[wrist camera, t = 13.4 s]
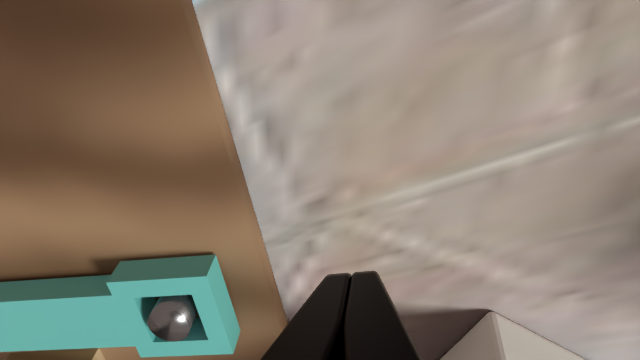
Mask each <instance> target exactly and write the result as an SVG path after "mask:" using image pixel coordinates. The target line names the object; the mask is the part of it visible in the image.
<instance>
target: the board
mask: <svg viewBox="0 0 640 360" xmlns="http://www.w3.org/2000/svg"><path fill="white" fill-rule="evenodd" d="M202 255H216V256H217V260H218V263H219V266H220V269H221V272H222V275H223V278H224V281H225V284H226V287H227V290H228V293H229V296H230V299H231V302H232V306H233V309H234V312H235V315H236V318H237V321H238V324H239V327H240V330H241V331H240V334H239V337H238V340H237V344H236V347H235V350H234V353H233V354H219V355H192V356H166V357H140V355H139V353H138V351H137V349H136V346H133V347H109V348H84V349H60V350H36V351H12V352H0V360H260V359H261V357H262V356H263V355H264V354H265V352H266V351H267V350H268V349H269V347H270V346H271V345H272V344H273V342H274V341H275V340H276V338H277V337H278V336H279V335H280V333H281V332H282V331H283V330H284V328H285V327H286V326H287V325H288V322H287V319H286V315H285V312H284V309H283V305H282V302H281V299H280V295H279V292H278V289H277V285H276V282H275V278H274V275H273V272H272V268H271V265H270V262H269V258H268V255H267V252H266V248H265V245H264V242H263V238H262V235H261V232H260V228H259V225H258V222H257V218H256V215H255V211H254V208H253V205H252V201H251V198H250V195H249V191H248V188H247V185H246V181H245V178H244V175H243V171H242V168H241V165H240V161H239V158H238V155H237V151H236V148H235V144H234V141H233V138H232V134H231V131H230V128H229V124H228V121H227V118H226V114H225V111H224V108H223V104H222V101H221V98H220V94H219V91H218V87H217V84H216V81H215V77H214V74H213V71H212V67H211V64H210V61H209V57H208V54H207V51H206V47H205V44H204V41H203V37H202V34H201V31H200V27H199V24H198V20H197V17H196V14H195V10H194V7H193V4H192V0H0V282H10V281H25V280H40V279H55V278H70V277H85V276H100V275H112V273H113V271H114V270H115V268H116V267H117V265H118V264H119V262H120V261H132V260H146V259H160V258H174V257H188V256H202ZM158 298H159V296H158V297H155V299H156V302H157V300H158ZM195 318H200V316H199V313H198V312H197V315H196V317H195Z"/></svg>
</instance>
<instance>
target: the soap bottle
mask: <svg viewBox="0 0 640 360" xmlns="http://www.w3.org/2000/svg"><path fill="white" fill-rule="evenodd" d="M440 360H586V359H584V358H582V357H580V356H578V355H576V354H574V353H572V352H570V351H569V350H567V349H565V348H563V347H561V346H559V345H557V344H555V343H553V342H551V341H549V340H547V339H545V338H543V337H541V336H540V335H538V334H536V333H534V332H532V331H530V330H528V329H526V328H524V327H522V326H520V325H518V324H516V323H514V322H513V321H511V320H509V319H507V318H505V317H503V316H501V315H499V314H497V313H495V312H489V313H487V314H486V315H485V316H484V317H483V318H482V319H481V320H480V321H479V322H478V323H477V324H476V325H475V326H474V327H473V328H472V329H471V330H470V331H469V332H468V333H467V334H466V335H465V336H464V337H463V338H462V339H461V340H460V341H459V342H458V343H456V344H455V345H454V346H453V347H452V348H451V349H450V350H449V351H448V352H447V353H446V354H445V355H444V356H443V357H442V358H441V359H440Z"/></svg>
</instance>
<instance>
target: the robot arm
mask: <svg viewBox="0 0 640 360" xmlns="http://www.w3.org/2000/svg"><path fill="white" fill-rule="evenodd" d="M260 360H422V359H421V357H420V355H419V353H418V351H417V349H416V347H415V345H414V343H413V341H412V339H411V337H410V335H409V334H408V332H407V330H406V328H405V326H404V324H403V322H402V320H401V318H400V316H399V314H398V312H397V310H396V308H395V306H394V304H393V302H392V300H391V298H390V296H389V294H388V292H387V290H386V288H385V286H384V284H383V282H382V280H381V278H380V277H379V275H378V273H377V272H376V271H364V272H355V273H354V274H353V275H351V274H349V273H340V274H330V275H327V276H326V277H325V278H324V279H323V280H322V282H321V283H320V284H319V285H318V287H317V288H316V289H315V291H314V292H313V293H312V294H311V296H310V297H309V298H308V299H307V301H306V302H305V303H304V304H303V306H302V307H301V308H300V309H299V311H298V312H297V313H296V314H295V316H294V317H293V318H292V320H291V321H290V322H289V323H288V325H287V326H286V327H285V328H284V330H283V331H282V332H281V333H280V335H279V336H278V337H277V338H276V340H275V341H274V342H273V344H272V345H271V346H270V347H269V349H268V350H267V351H266V352H265V354H264V355H263V356H262V357H261V359H260Z"/></svg>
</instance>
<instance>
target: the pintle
mask: <svg viewBox="0 0 640 360" xmlns="http://www.w3.org/2000/svg"><path fill="white" fill-rule="evenodd" d="M197 312H198V310H197V308H196V305H195V302H194V300H193V297H192V295H175V296H159V298H158V300H157V302H156V304H155V306H154V308H153V310H152V311H151V313H150V315H149V317H148V320H147V324H148V327H149V329H150V331H151V332H152V333H153V334H154V335H155V336H157V337H159V338H160V339H163V340H166V341H172V342H176V341H181V340H183V339H185V338H186V337H187V336H188V334H189V331H190V329H191V327H192V324H193V322H194V319H195V317H196V315H197Z"/></svg>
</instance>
